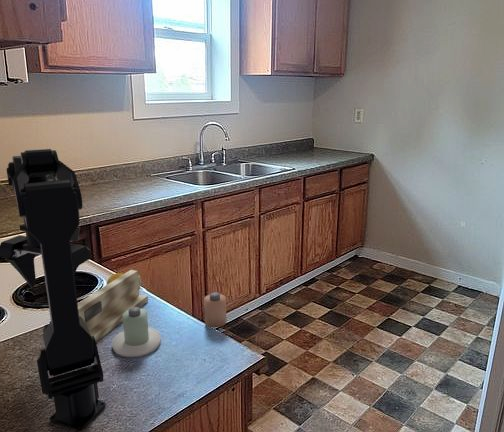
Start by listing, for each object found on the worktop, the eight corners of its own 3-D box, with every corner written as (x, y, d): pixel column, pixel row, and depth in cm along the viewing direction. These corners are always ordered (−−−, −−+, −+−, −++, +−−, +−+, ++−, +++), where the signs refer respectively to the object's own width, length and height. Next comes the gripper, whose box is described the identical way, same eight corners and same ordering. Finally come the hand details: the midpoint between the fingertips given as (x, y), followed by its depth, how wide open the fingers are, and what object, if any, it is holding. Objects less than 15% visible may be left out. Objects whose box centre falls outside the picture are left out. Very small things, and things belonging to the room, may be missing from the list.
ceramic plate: (143, 361, 87) (143, 357, 86) (102, 351, 90) (102, 347, 90) (169, 335, 96) (169, 331, 95) (131, 327, 99) (131, 323, 99)
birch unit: (88, 347, 91) (84, 313, 89) (69, 342, 93) (65, 309, 91) (148, 301, 111) (146, 272, 109) (131, 297, 113) (128, 269, 110)
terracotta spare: (223, 328, 99) (222, 300, 97) (202, 326, 99) (201, 298, 97) (228, 317, 103) (227, 290, 101) (208, 315, 104) (207, 289, 102)
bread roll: (109, 281, 122) (108, 268, 121) (142, 279, 124) (141, 266, 122) (104, 295, 114) (103, 281, 113) (139, 293, 116) (138, 279, 115)
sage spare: (139, 348, 90) (137, 317, 87) (119, 343, 91) (116, 313, 89) (153, 335, 94) (151, 306, 92) (134, 330, 96) (131, 302, 94)
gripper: (104, 212, 90) (111, 280, 95) (35, 203, 96) (45, 268, 101) (65, 228, 80) (75, 303, 85) (-9, 217, 86) (3, 288, 91)
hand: (49, 289), depth 91 cm, fingers open, 9 cm apart
